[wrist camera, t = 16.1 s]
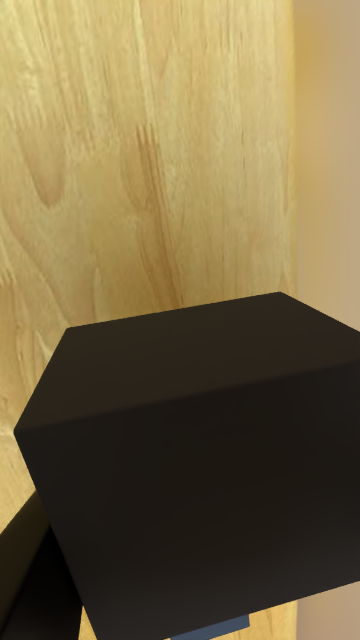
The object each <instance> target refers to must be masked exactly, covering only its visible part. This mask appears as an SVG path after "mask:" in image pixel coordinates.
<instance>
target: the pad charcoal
mask: <svg viewBox="0 0 360 640" xmlns="http://www.w3.org/2000/svg"><path fill="white" fill-rule="evenodd" d="M14 436H15V438H16V441H17V443H18V446H19V448H20V451H21V453H22V456H23V458H24V461H25V463H26V466H27V468H28V470H29V473H30V475H31V478H32V480H33V483H34V485H35V488H36V490H37V493H38V495H39V498H40V500H41V503H42V505H43V507H44V510H45V512H46V515H47V517H48V520H49V522H50V525H51V527H52V530H53V532H54V535H55V537H56V540H57V542H58V544H59V547H60V549H61V552H62V554H63V557H64V559H65V562H66V564H67V567H68V569H69V572H70V574H71V577H72V579H73V581H74V584H75V586H76V589H77V591H78V594H79V596H80V599H81V601H82V604H83V606H84V609H85V611H86V614H87V616H88V618H89V621H90V623H91V626H92V628H93V631H94V633H95V636H96V638H97V640H164V639H167V638H171V637H174V636H177V635H181V634H184V633H187V632H191V631H194V630H197V629H201V628H204V627H207V626H211V625H214V624H217V623H221V622H224V621H227V620H231V619H234V618H237V617H241V616H244V615H247V614H251V613H254V612H257V611H261V610H264V609H267V608H271V607H274V606H277V605H281V604H284V603H287V602H291V601H294V600H297V599H301V598H304V597H307V596H310V595H314V594H317V593H321V592H324V591H327V590H331V589H334V588H337V587H340V586H344V585H347V584H351V583H354V582H357V581H360V332H359V331H357V330H355V329H353V328H351V327H349V326H347V325H345V324H343V323H341V322H339V321H337V320H335V319H334V318H332V317H329V316H328V315H326V314H324V313H322V312H320V311H318V310H316V309H314V308H312V307H310V306H308V305H306V304H304V303H302V302H300V301H298V300H296V299H294V298H292V297H290V296H288V295H286V294H284V293H282V292H274V293H269V294H263V295H257V296H251V297H245V298H239V299H234V300H228V301H222V302H216V303H210V304H204V305H198V306H193V307H187V308H181V309H175V310H169V311H163V312H158V313H152V314H146V315H140V316H134V317H128V318H122V319H117V320H111V321H105V322H99V323H93V324H87V325H82V326H76V327H70V328H67V329H66V330H65V332H64V334H63V336H62V338H61V340H60V342H59V344H58V346H57V347H56V349H55V351H54V353H53V355H52V357H51V359H50V361H49V363H48V365H47V367H46V369H45V371H44V372H43V374H42V376H41V378H40V380H39V382H38V384H37V386H36V388H35V390H34V392H33V394H32V396H31V397H30V399H29V401H28V403H27V405H26V407H25V409H24V411H23V413H22V415H21V417H20V419H19V421H18V422H17V424H16V426H15V428H14Z"/></svg>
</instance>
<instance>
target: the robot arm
mask: <svg viewBox="0 0 360 640" xmlns="http://www.w3.org/2000/svg"><path fill="white" fill-rule="evenodd" d="M82 607H83V604H82V601H81V599H80V596H79V594H78V591H77V589H76V586H75V584H74V581H73V579H72V577H71V574H70V572H69V569H68V567H67V564H66V562H65V559H64V557H63V554H62V552H61V549H60V547H59V544H58V542H57V540H56V537H55V535H54V532H53V530H52V527H51V525H50V522H49V520H48V517H47V515H46V512H45V510H44V507H43V505H42V503H41V500H40V498H39V495H38V493H37V490H35V492H34V493H33V494H32V495H31V497H30V498H29V499H28V500H27V502H26V503H25V504H24V505H23V507H22V508H21V509H20V510H19V511H18V513H17V514H16V515H15V516H14V518H13V519H12V520H11V521H10V523H9V524H8V525H7V526H6V528H5V529H4V530H3V531H2V533H1V534H0V640H78V638H79V631H80V623H81V615H82Z"/></svg>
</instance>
